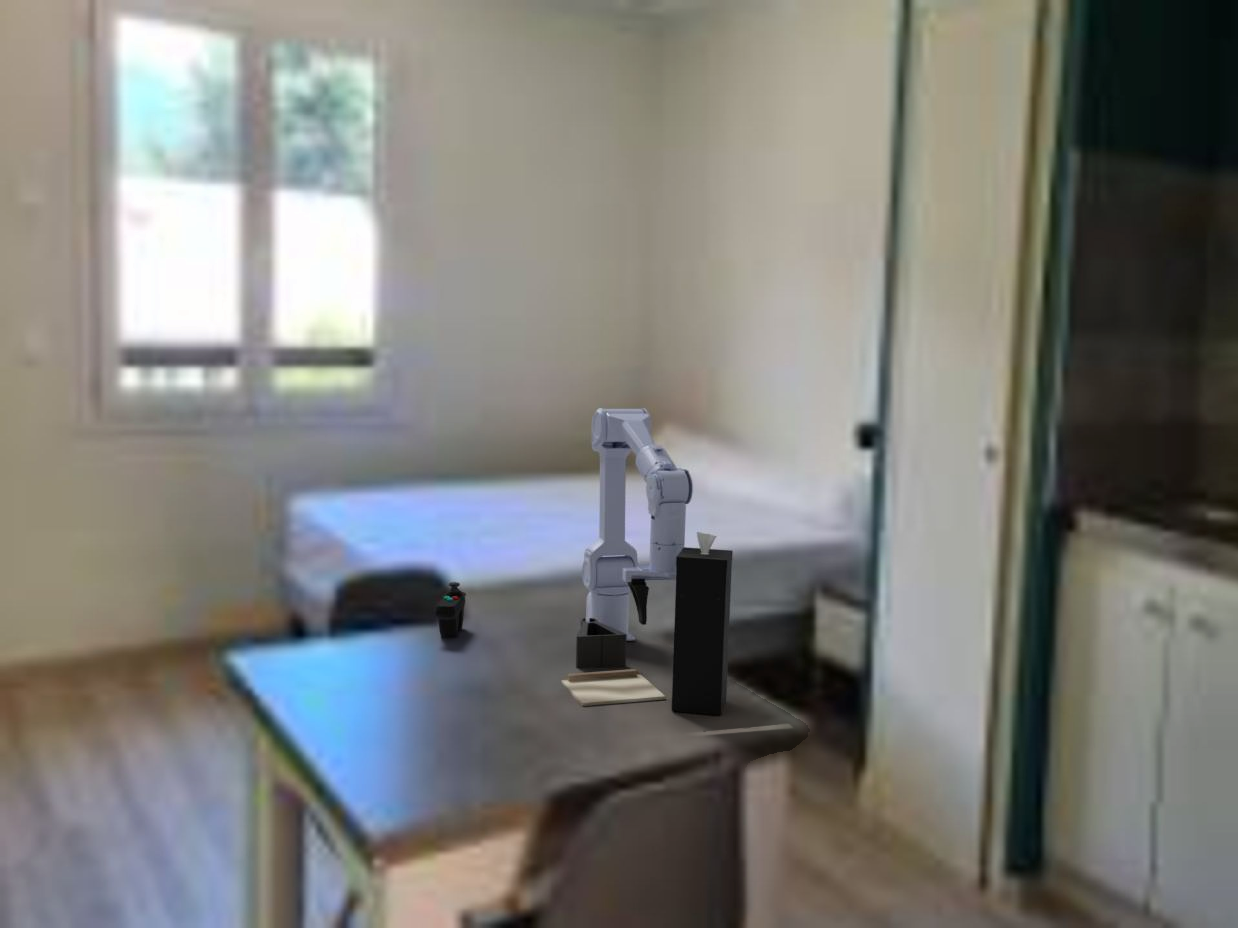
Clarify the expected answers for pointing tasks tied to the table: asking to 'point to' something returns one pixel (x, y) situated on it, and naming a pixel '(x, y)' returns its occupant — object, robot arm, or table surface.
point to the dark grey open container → (600, 645)
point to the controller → (451, 611)
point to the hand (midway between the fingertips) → (664, 622)
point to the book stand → (610, 687)
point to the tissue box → (701, 628)
